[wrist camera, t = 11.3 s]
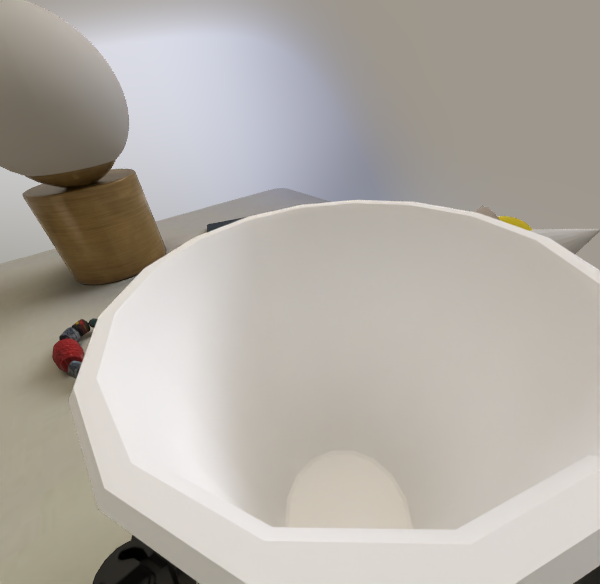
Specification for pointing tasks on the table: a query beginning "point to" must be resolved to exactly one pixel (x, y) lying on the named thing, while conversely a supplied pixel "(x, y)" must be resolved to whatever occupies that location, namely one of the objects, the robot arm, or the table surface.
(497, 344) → the cup
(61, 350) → the necklace
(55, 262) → the table surface
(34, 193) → the lamp
